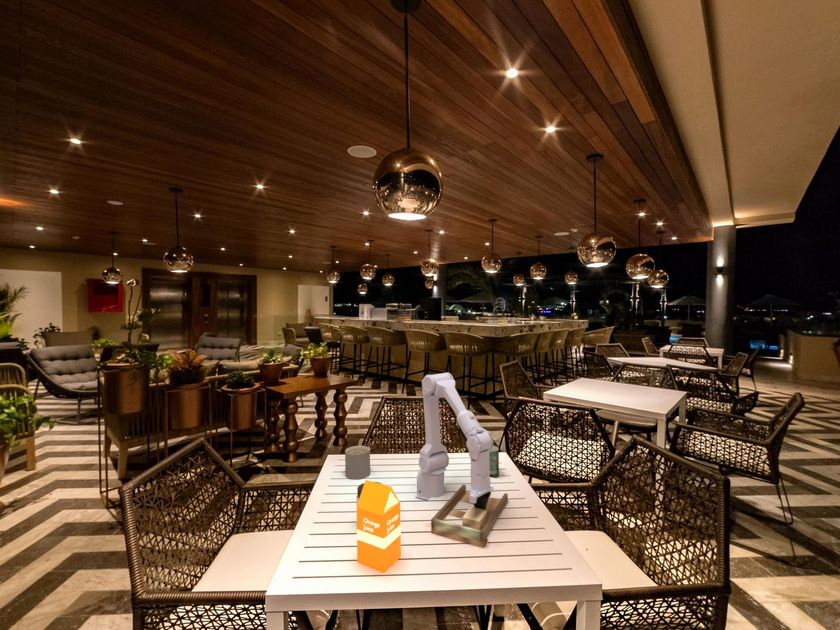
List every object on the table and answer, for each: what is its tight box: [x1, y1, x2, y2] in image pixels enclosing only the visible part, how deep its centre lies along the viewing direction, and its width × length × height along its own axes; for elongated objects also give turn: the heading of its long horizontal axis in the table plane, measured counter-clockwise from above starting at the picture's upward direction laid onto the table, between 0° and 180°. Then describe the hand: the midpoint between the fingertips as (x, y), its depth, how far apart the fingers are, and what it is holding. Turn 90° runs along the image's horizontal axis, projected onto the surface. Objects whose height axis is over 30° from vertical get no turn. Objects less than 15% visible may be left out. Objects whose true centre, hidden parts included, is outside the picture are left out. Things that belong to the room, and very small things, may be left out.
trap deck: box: [430, 484, 509, 549], centre depth 118 cm, size 16×26×4 cm, turn 152°
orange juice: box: [356, 479, 402, 574], centre depth 99 cm, size 8×9×20 cm
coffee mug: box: [344, 445, 371, 481], centre depth 155 cm, size 13×10×10 cm
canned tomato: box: [489, 444, 500, 479], centre depth 151 cm, size 8×8×11 cm
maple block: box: [462, 506, 487, 530], centre depth 111 cm, size 5×7×4 cm
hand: (480, 516), depth 115 cm, fingers closed
